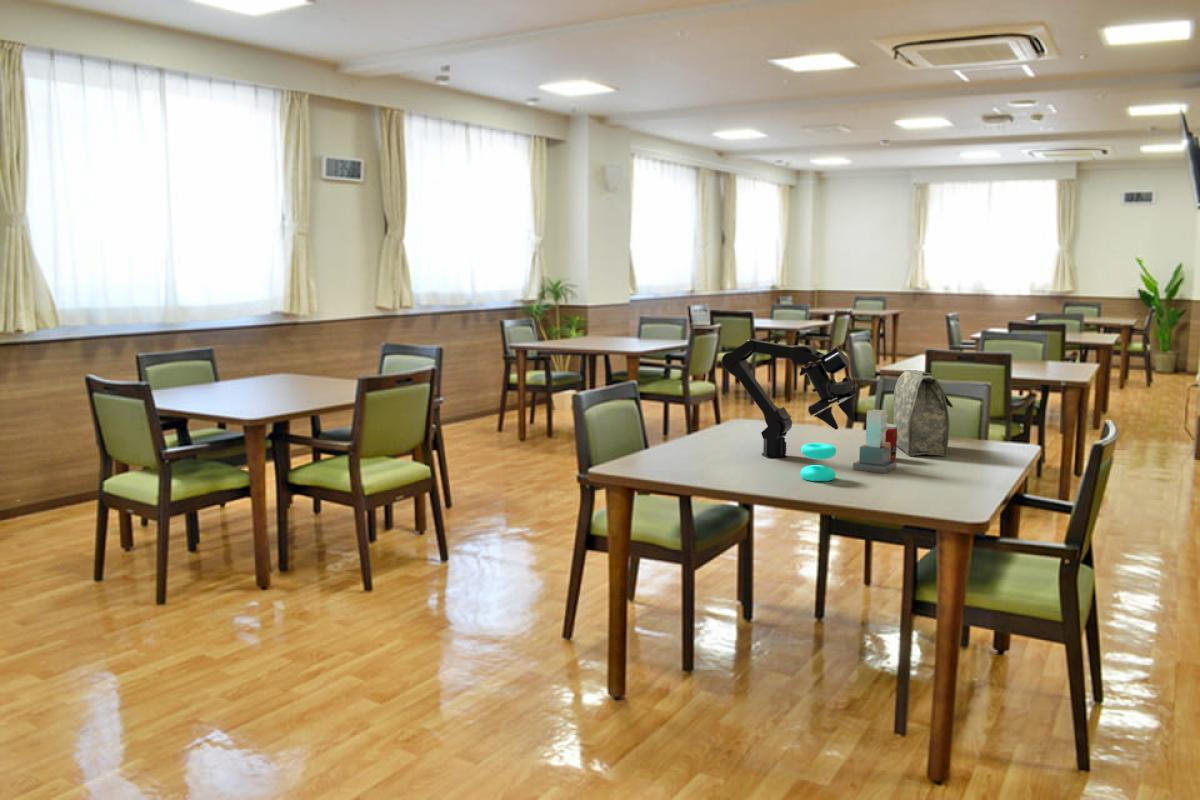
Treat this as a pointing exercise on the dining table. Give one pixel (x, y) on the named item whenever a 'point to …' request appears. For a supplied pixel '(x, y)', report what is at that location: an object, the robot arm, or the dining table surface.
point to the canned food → (892, 438)
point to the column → (876, 428)
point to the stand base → (875, 459)
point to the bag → (921, 414)
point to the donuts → (818, 470)
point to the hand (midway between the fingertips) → (845, 424)
